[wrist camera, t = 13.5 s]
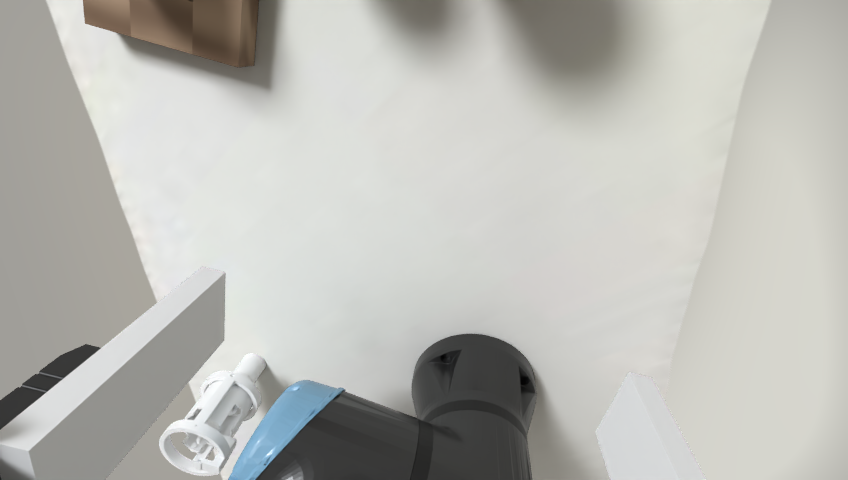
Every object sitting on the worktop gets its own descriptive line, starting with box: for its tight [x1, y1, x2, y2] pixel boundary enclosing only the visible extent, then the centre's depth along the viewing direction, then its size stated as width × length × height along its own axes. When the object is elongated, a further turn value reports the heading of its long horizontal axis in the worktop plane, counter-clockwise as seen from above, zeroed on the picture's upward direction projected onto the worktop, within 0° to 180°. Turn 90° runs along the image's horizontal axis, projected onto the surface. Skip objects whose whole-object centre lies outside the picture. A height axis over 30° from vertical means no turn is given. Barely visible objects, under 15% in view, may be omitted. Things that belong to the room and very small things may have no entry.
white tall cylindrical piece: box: [159, 353, 266, 476], centre depth 50 cm, size 7×7×15 cm
